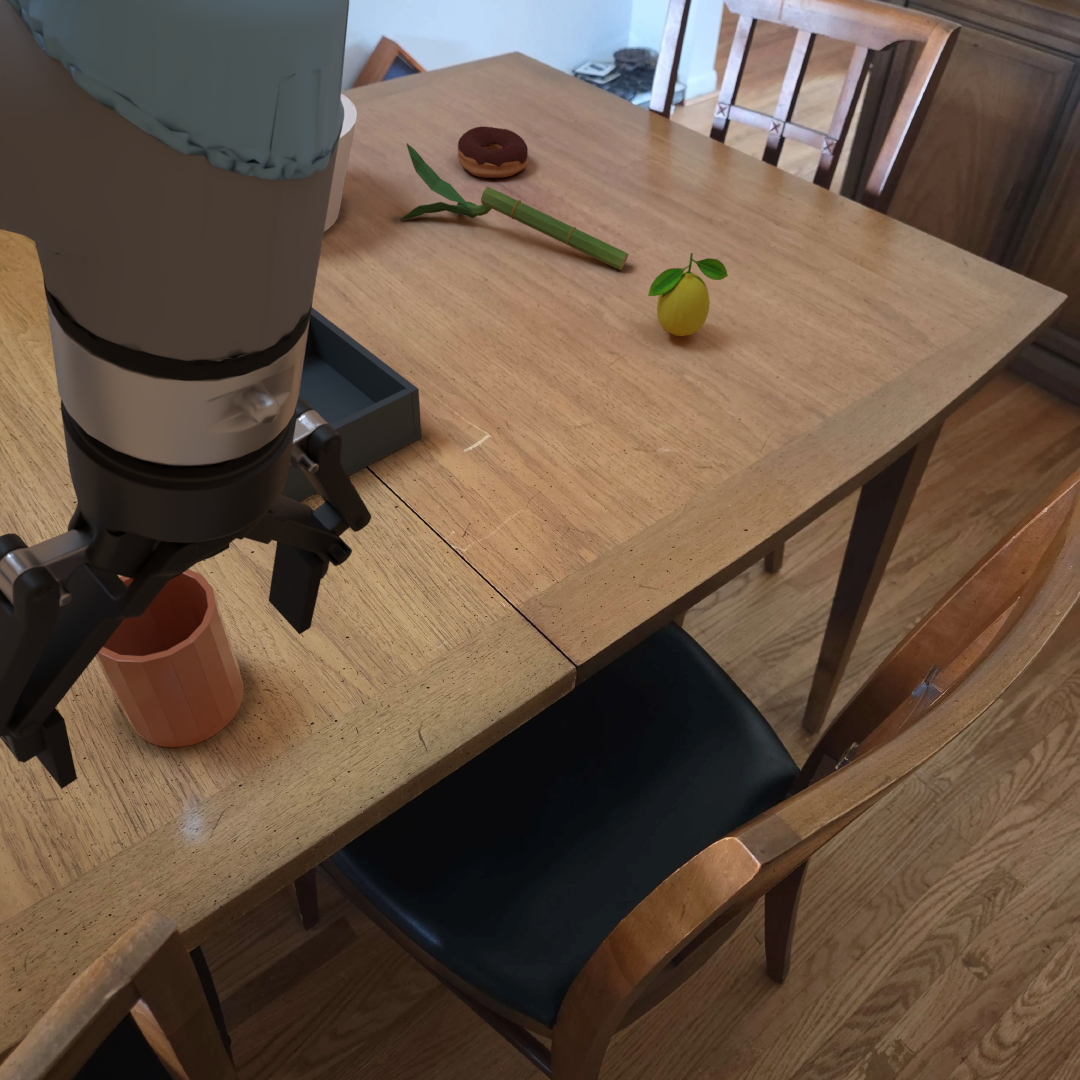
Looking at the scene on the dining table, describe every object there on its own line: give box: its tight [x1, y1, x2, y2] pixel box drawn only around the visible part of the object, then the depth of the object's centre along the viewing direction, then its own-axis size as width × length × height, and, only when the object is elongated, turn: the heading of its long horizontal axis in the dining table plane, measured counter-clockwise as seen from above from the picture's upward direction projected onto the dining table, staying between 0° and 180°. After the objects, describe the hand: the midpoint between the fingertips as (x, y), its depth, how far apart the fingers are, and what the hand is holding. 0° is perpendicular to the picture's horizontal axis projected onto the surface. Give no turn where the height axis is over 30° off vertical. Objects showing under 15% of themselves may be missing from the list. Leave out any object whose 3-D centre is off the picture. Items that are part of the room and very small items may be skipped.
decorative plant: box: [399, 142, 629, 271], centre depth 113 cm, size 6×8×30 cm
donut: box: [457, 125, 530, 179], centre depth 127 cm, size 10×10×4 cm
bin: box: [281, 306, 423, 502], centre depth 86 cm, size 18×18×6 cm
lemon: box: [647, 252, 729, 337], centre depth 98 cm, size 7×6×10 cm
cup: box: [94, 568, 245, 748], centre depth 63 cm, size 8×8×10 cm
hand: (181, 682), depth 47 cm, fingers open, 13 cm apart
